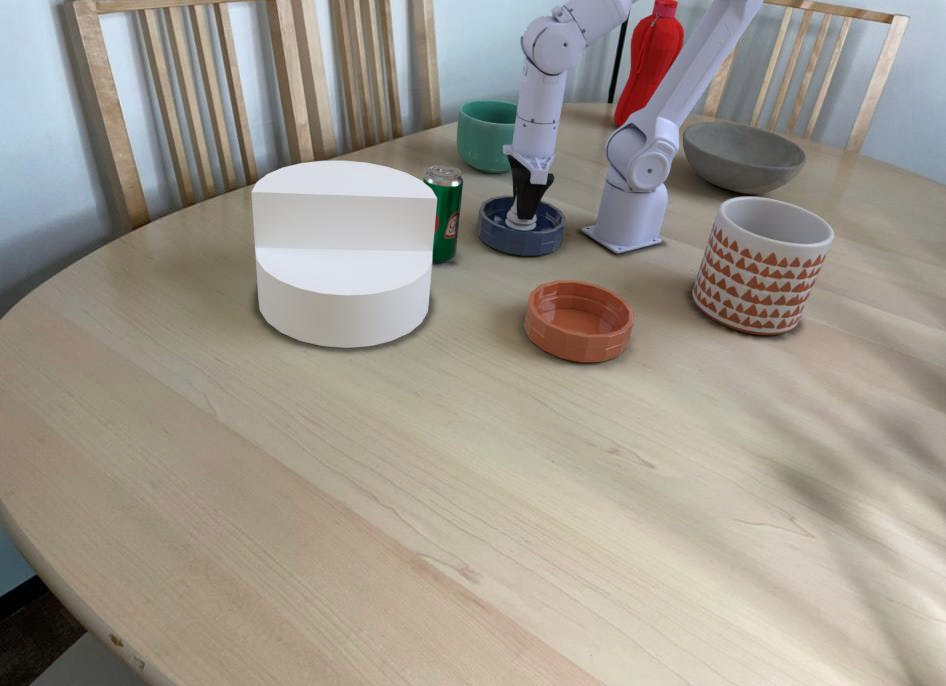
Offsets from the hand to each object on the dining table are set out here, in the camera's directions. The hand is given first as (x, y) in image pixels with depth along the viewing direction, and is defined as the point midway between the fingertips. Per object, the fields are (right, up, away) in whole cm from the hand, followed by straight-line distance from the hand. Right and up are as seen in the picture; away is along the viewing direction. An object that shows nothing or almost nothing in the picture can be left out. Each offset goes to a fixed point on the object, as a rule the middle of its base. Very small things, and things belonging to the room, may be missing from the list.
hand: (523, 212), depth 105 cm
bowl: (+40, +10, +29) cm, 50 cm away
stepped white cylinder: (-22, -13, -16) cm, 31 cm away
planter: (+28, -14, -8) cm, 32 cm away
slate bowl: (0, -3, +2) cm, 4 cm away
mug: (-3, +13, +26) cm, 29 cm away
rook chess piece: (0, -2, +1) cm, 2 cm away
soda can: (-12, -7, -5) cm, 15 cm away
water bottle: (+27, +26, +50) cm, 62 cm away
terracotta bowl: (+5, -17, -17) cm, 25 cm away
